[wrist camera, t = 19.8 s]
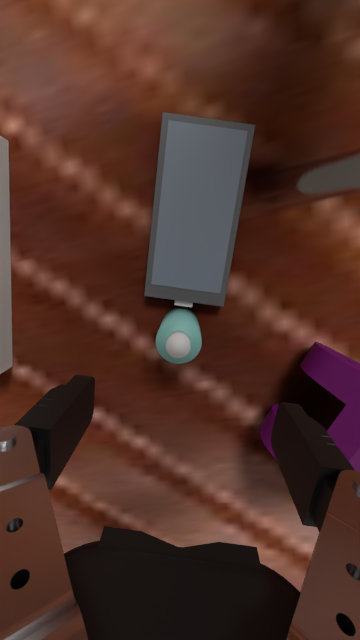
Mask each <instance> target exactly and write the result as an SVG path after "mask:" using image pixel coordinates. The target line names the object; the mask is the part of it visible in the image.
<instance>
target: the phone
mask: <svg viewBox="0 0 360 640" xmlns="http://www.w3.org/2000/svg"><path fill="white" fill-rule="evenodd" d="M254 130H255V125H253V124H246V123H238V122H231V121H224V120H217V119H209V118H202V117H195V116H187V115H180V114H173V113H166V112H163V116H162V126H161V136H160V146H159V155H158V165H157V175H156V185H155V195H154V205H153V215H152V225H151V235H150V245H149V254H148V264H147V274H146V284H145V294H144V296H149V297H156V298H163V299H171V300H175V304H174V305H178V306H185V307H192V306H193V303H200V304H208V305H215V306H222V307H224V302H225V296H226V291H227V285H228V279H229V273H230V268H231V262H232V256H233V250H234V245H235V239H236V233H237V227H238V222H239V216H240V210H241V204H242V199H243V193H244V187H245V182H246V176H247V170H248V164H249V159H250V153H251V147H252V141H253V136H254Z"/></svg>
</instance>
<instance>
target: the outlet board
mask: <svg viewBox="0 0 360 640" xmlns="http://www.w3.org/2000/svg"><path fill="white" fill-rule="evenodd" d="M12 366H13V356H12V302H11V248H10V193H9V141H8V140H6V139H5V138H3V137H2V136H0V374H1V373H3V372H4V371H6V370H8V369H9V368H11V367H12Z"/></svg>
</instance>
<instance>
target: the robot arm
mask: <svg viewBox="0 0 360 640" xmlns="http://www.w3.org/2000/svg"><path fill="white" fill-rule="evenodd" d="M94 390H95V379H94V377H89V376H82V375H75V376H74V377H73V378H72V379H71V380H70V381H69V382H68V384H67V385H59V386H57V387H55V388H53V389H51V390H49V391H48V392H47V393H46V394H45V395H44V396H43V397H42V399H40V400H39V401H38V402H37V403H36V405H34V406H33V407H32V408H31V409H30V410H29V411H28V412H27V413H26V414H25V415H24V416H23V417H22V418H21V419H20V420H19V421H18V422H17V423H16V424H15V425H12V426H5V427H1V428H0V640H360V472H359V471H355V469H354V468H353V467H352V465H351V464H350V463H349V461H348V460H347V458H346V457H345V456H344V454H343V453H342V452H341V450H340V449H339V448H338V446H336V444H335V442H334V441H333V440H332V438H330V435H329V434H328V433H327V431H326V430H325V429H324V427H323V426H322V425H320V424H319V423H318V422H316V421H315V420H314V419H313V418H309V417H308V416H307V414H306V413H305V411H304V410H303V408H302V407H301V406H300V405H299V404H293V403H285V402H280V403H279V405H278V408H277V412H276V416H275V420H274V425H273V429H272V433H271V446H272V449H273V452H274V454H275V457H276V459H277V462H278V464H279V467H280V469H281V472H282V474H283V477H284V479H285V482H286V484H287V487H288V489H289V492H290V494H291V497H292V499H293V502H294V504H295V507H296V509H297V511H298V514H299V516H300V519H301V521H302V524H303V525H306V526H314V527H317V528H318V530H319V532H320V533H319V536H318V539H317V542H316V545H315V548H314V551H313V554H312V557H311V560H310V563H309V566H308V569H307V572H306V575H305V579H304V582H303V585H302V588H301V591H300V592H299V591H298V590H297V589H296V588H295V587H294V586H293V585H292V584H291V583H290V582H288V581H287V580H286V579H285V578H284V577H282V576H281V575H280V574H278V573H277V572H275V571H274V570H272V569H270V568H268V567H267V566H265V565H263V564H260V561H259V556H258V552H257V547H251V546H244V545H237V544H229V543H222V542H216V543H210V544H203V545H196V546H190V547H182V548H181V547H176V546H174V545H172V544H169V543H167V542H165V541H162V540H160V539H158V538H155V537H153V536H151V535H148V534H146V533H144V532H142V531H134V530H127V529H120V528H112V527H105V526H104V529H103V532H102V535H101V538H100V541H95V542H91V543H87V544H84V545H81V546H79V547H76V548H74V549H72V550H70V551H68V552H66V553H65V554H64V553H63V549H62V545H61V541H60V536H59V532H58V528H57V524H56V520H55V516H54V512H53V507H52V503H51V499H50V495H49V491H48V489H49V490H51V489H52V487H53V486H54V484H55V482H56V481H57V479H58V477H59V475H60V474H61V472H62V470H63V469H64V467H65V465H66V463H67V462H68V460H69V458H70V457H71V455H72V453H73V452H74V450H75V448H76V446H77V445H78V443H79V441H80V440H81V438H82V436H83V435H84V433H85V431H86V429H87V428H88V426H89V424H90V422H91V419H92V416H93V410H94Z"/></svg>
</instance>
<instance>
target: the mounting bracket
mask: <svg viewBox="0 0 360 640" xmlns="http://www.w3.org/2000/svg"><path fill="white" fill-rule="evenodd" d="M300 367H301V368H302V370H303V371H304V372H305V373H306V374H307V375H309V376H310V377H311V378H312V379H313V380H315V381H316V382H317V383H318V384H320V385H321V386H322V387H324V388H325V389H326V390H328V391H329V392H330V393H332V394H333V395H334V396H336V397H337V398H338V399H340V400H341V401H342V402H344V403H345V404H346V406H345V407H344V409H343V410H342V411H341V413H340V414H339V415H338V417H337V418H336V419H335V421H334V422H333V424H332V425H331V426H330V428H329V429H326V428H325V427H324V426H323V425H322V426H323V427H324V429H325V430H326V431H327V433H328V434H329V435H330V438H332V440H333V441H334V442H335V444H336V446H338V448H339V449H340V450H341V452H342V453H343V454H344V456H345V457H346V458H347V460H348V461H349V463H350V464H351V465H352V467H353V468H354V469H355V471H359V472H360V364H359V363H358V362H356V361H354V360H352V359H350V358H348V357H346V356H344V355H342V354H341V353H339V352H337V351H335V350H333V349H331V348H329V347H327V346H325V345H322V344H320V343H318V342H315V343H314V344H313V346H312V347H311V349H310V350H309V352H308V353H307V355H306V356H305V358H304V359H303V361H302V362H301V364H300ZM278 405H279V404H274V405H273V406H272V408H271V409H270V411H269V412H268V414H267V416H266V417H265V419H264V420H263V422H262V423H261V425H260V426H259V434H260V437H261V439H262V441H263V443H264V445H265V446H266V448H267V449H268V450H269V452H270V453H271V454H272V456H273V457H274V458H275V459H276V457H275V454H274V452H273V449H272V446H271V433H272V429H273V425H274V420H275V416H276V412H277V408H278ZM307 416H308V415H307ZM308 417H309V416H308ZM309 418H311V417H309ZM315 421H316V420H315ZM316 422H317V421H316ZM319 424H320V423H319ZM320 425H321V424H320ZM276 461H277V459H276Z"/></svg>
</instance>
